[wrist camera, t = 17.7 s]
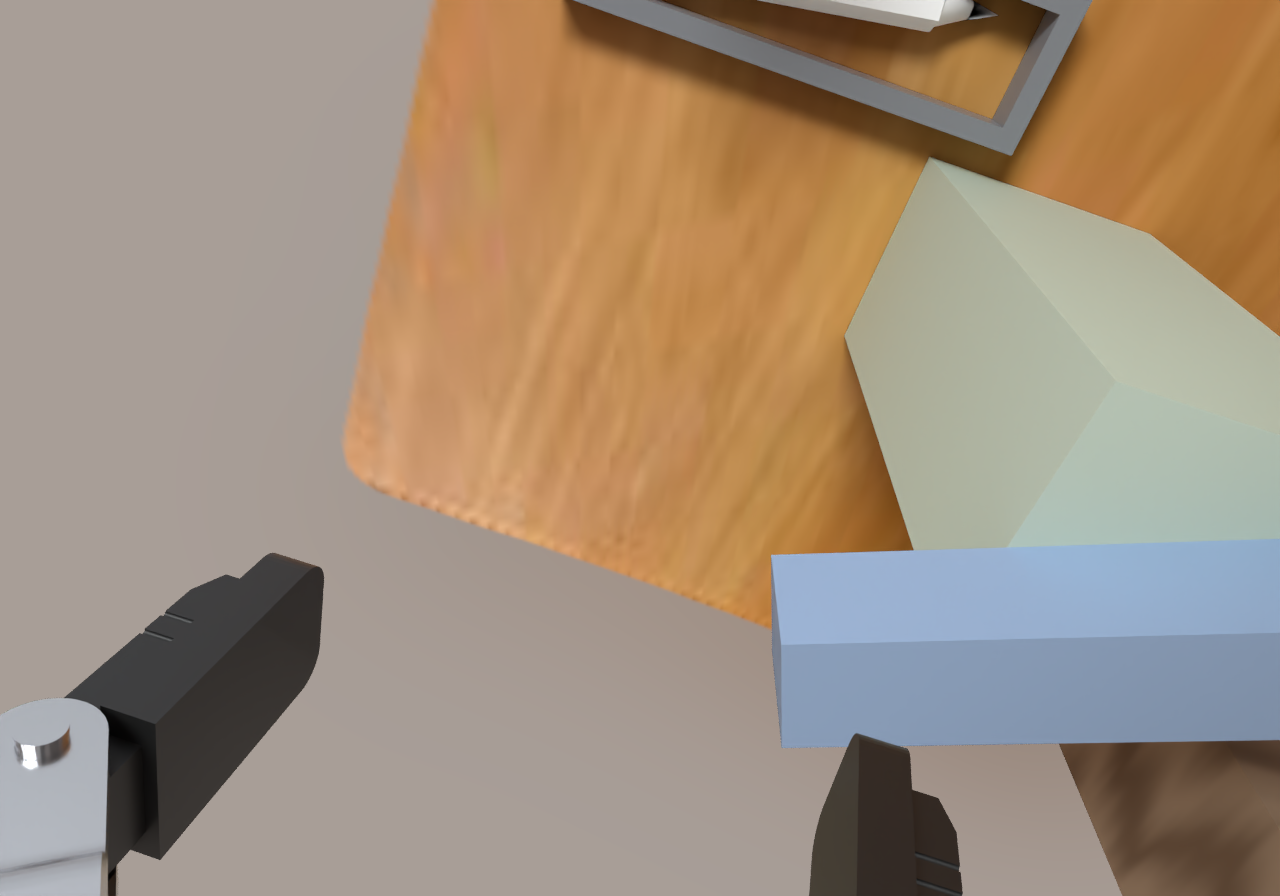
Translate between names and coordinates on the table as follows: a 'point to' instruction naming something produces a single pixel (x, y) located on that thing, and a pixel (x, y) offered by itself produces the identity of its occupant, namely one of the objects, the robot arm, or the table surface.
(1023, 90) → the pen tray
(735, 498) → the table surface
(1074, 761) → the walnut stand
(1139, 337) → the pale green tall block
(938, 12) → the white hexagonal pencil
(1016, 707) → the blue block
